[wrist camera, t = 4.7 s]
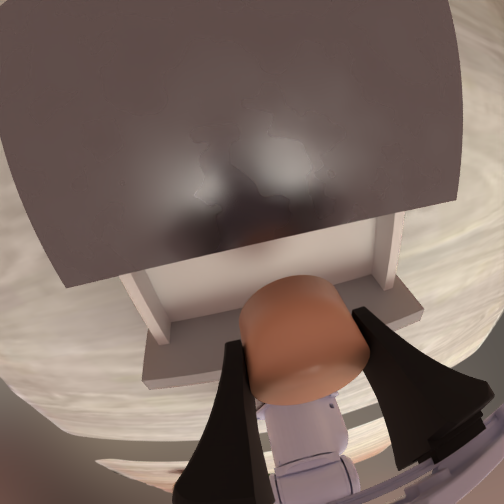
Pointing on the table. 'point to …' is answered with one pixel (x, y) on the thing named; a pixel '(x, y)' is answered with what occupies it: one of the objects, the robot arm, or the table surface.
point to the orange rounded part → (300, 341)
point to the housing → (222, 122)
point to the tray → (254, 278)
